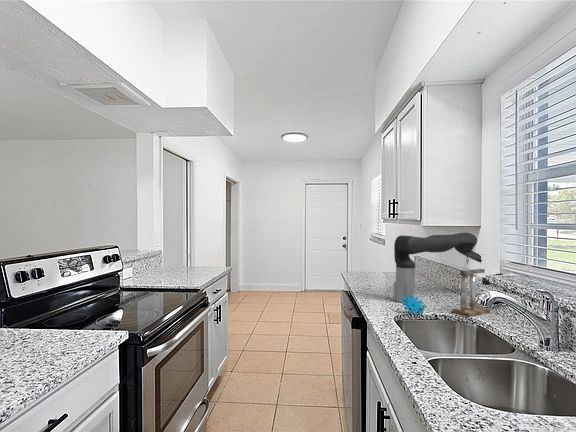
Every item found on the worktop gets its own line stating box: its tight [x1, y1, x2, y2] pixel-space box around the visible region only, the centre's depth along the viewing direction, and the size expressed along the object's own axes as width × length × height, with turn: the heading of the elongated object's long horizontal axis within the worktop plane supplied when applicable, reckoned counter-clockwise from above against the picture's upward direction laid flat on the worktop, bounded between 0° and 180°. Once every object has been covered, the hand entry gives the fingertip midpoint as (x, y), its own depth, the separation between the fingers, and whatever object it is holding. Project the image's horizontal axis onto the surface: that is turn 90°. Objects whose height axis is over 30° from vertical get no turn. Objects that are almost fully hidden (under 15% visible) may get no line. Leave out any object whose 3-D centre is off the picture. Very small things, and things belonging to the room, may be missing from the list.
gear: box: [401, 295, 427, 316], centre depth 167 cm, size 11×6×10 cm
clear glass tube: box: [468, 273, 478, 309], centre depth 170 cm, size 3×3×16 cm
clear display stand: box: [451, 268, 491, 318], centre depth 169 cm, size 17×8×19 cm, turn 123°
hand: (484, 282), depth 175 cm, fingers closed
